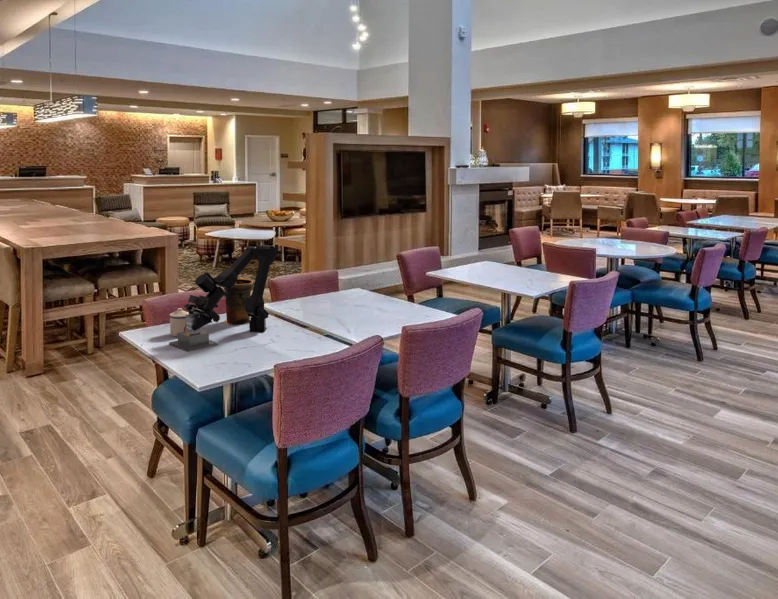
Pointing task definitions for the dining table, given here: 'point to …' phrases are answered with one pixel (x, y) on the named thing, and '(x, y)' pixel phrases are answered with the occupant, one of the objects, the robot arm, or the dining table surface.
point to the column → (192, 323)
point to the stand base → (193, 341)
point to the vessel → (238, 302)
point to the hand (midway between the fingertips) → (189, 328)
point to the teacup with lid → (178, 322)
